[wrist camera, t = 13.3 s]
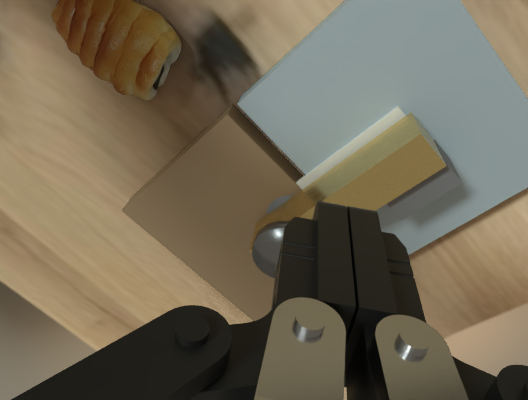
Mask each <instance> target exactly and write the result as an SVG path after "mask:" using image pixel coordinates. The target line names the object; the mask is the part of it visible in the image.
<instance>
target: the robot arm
mask: <svg viewBox="0 0 528 400" xmlns="http://www.w3.org/2000/svg"><path fill="white" fill-rule="evenodd" d="M413 276H414V275H413V271H412V268H411V266H410V260H409V256H408V253H407V249H406V247H405V246H404V245H403V244H402V242H401V241H400V240H399V239H398V238H397V236H396V235H395V234H392V233H386V232H381V227H380V222H379V217H378V213H377V211H373V210H368V209H362V208H356V207H351V206H347V207H346V206H344V205H339V204H333V203H327V202H321V201H317V203H316V206H315V210H314V214H313V219H312V220H311V219H306V218H300V217H294V218H293V219H292V220H291V221H290V222H289V223H288V224H287V225H286V226H285V229H284V234H283V239H282V244H281V249H280V254H279V259H278V264H277V269H276V274H275V282H274V290H273V297H272V305H271V311H270V312H269V313H268V314H267V315H265V316H264V317H262V318H261V319H258V320H256V321H253V322H249V323H243V324H232V325H229V324H228V322H227V321H226V319H225V318H224V317H223V316H222V315H220V314H219V313H218V312H216V311H214V310H212V309H210V308H207V307H203V306H196V305H189V306H182V307H178V308H175V309H172V310H170V311H168V312H166V313H165V314H163V315H161V316H159V317H158V318H156V319H154V320H152V321H150V322H149V323H147V324H145V325H143V326H141V327H140V328H138V329H136V330H134V331H133V332H131V333H129V334H127V335H125V336H124V337H122V338H120V339H118V340H117V341H115V342H113V343H111V344H109V345H108V346H106V347H104V348H102V349H101V350H99V351H97V352H95V353H94V354H92V355H90V356H88V357H86V358H85V359H83V360H81V361H79V362H77V363H76V364H74V365H72V366H70V367H68V368H67V369H65V370H63V371H61V372H60V373H58V374H56V375H54V376H53V377H51V378H49V379H47V380H45V381H43V382H42V383H40V384H38V385H36V386H35V387H33V388H31V389H29V390H27V391H26V392H24V393H22V394H20V395H19V396H17V397H15V398H13V399H12V400H344V387H347V400H528V366H523V365H511V366H507V367H505V368H503V369H502V370H501V371H500V373H499V374H498V376H497V377H495V376H493V375H491V374H489V373H486V372H484V371H482V370H479V369H477V368H475V367H473V366H470V365H468V364H466V363H464V362H462V361H460V360H458V359H456V358H454V357H453V356H452V355H451V353H450V350H449V347H448V346H447V343H446V342H445V340H444V339H443V337H442V336H441V335H440V334H439V333H438V332H437V331H436V330H435V329H434V328H433V327H431V326H430V325H428V324H427V323H426V320H425V317H424V313H423V309H422V305H421V301H420V298H419V294H418V290H417V286H416V283H415V279H414V278H413Z"/></svg>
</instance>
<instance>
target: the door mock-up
mask: <svg viewBox="0 0 528 400" xmlns="http://www.w3.org/2000/svg"><path fill="white" fill-rule="evenodd" d="M237 105H238V106H239V107H240V108H241V109H242V110H243V111H244V112H245V113H246V114H247V115H248V116H249V117H250V118H251V119H252V120H253V121H254V122H255V123H256V124H257V125H258V126H259V127H260V128H261V129H262V130H263V131H264V133H265V134H266V135H267V136H268V137H269V138H270V139H271V140H272V141H273V142H274V143H275V144H276V145H277V146H278V147H279V148H280V149H281V150H282V151H283V152H284V153H285V154H286V155H287V156H288V157H289V158H290V159H291V160H292V161H293V162H294V164H295V165H296V166H297V167H298V168H299V169H300V170H301V171H302V172H303V173H304V174H305V176H303V175H302V174H301V173H300V172H299V171H298V170H297V169H296V168H295V167H294V166H293V165H292V164H291V163H290V162H289V161H288V160H287V159H286V158H285V157H284V156H283V155H282V154H281V153H280V152H279V151H278V150H277V149H276V148H275V147H274V146H273V145H272V144H271V142H270V141H269V140H268V139H267V138H266V137H265V136H264V135H263V134H262V133H261V132H260V131H259V130H258V129H257V128H256V127H255V126H254V125H253V124H252V123H251V122H250V121H249V120H248V119H247V118H246V117H245V116H244V115H243V114H242V113H241V112H240V111H239V110H238V109H237V107H236V106H235V105H234V104H232V105H231V106H230V107H229V108H228V109H227V110H226V111H225V112H223V113H222V114H221V115H220V116H219V117H218V118H217V119H216V120H215V121H214V122H213V123H212V124H210V125H209V126H208V127H207V128H206V129H205V130H204V131H203V132H202V133H201V134H200V135H199V136H197V137H196V138H195V139H194V140H193V141H192V142H191V143H190V144H189V145H188V146H187V147H186V148H184V149H183V150H182V151H181V152H180V153H179V154H178V155H177V156H176V157H175V158H174V159H172V160H171V161H170V162H169V163H168V164H167V165H166V166H165V167H164V168H163V169H162V170H161V171H159V172H158V173H157V174H156V175H155V176H154V177H153V178H152V179H151V180H150V181H149V182H148V183H146V184H145V185H144V186H143V187H142V188H141V189H140V190H139V191H138V192H137V193H136V194H134V195H133V196H132V197H131V199H130V200H129V201H128V203H127V204H126V206H125V207H124V208H123V210H122V211H123V212H124V213H125V214H126V215H127V216H129V217H130V218H131V219H132V220H133V221H135V222H136V223H137V224H138V225H139V226H141V227H142V228H143V229H144V230H145V231H147V232H148V233H149V234H150V235H151V236H153V237H154V238H155V239H156V240H157V241H159V242H160V243H161V244H162V245H163V246H165V247H166V248H167V249H168V250H169V251H171V252H172V253H173V254H174V255H175V256H177V257H178V258H179V259H180V260H181V261H183V262H184V263H185V264H186V265H187V266H189V267H190V268H191V269H192V270H193V271H195V272H196V273H197V274H198V275H199V276H201V277H202V278H203V279H204V280H205V281H207V282H208V283H209V284H210V285H211V286H213V287H214V288H215V289H216V290H217V291H219V292H220V293H221V294H222V295H223V296H225V297H226V298H227V299H228V300H229V301H231V302H232V303H233V304H234V305H235V306H236V307H238V308H239V309H240V310H241V311H242V312H244V313H245V314H246V315H247V316H248V317H250V318H251V319H252V320H253V321H256V320H258V319H261V318H262V317H264V316H265V315H267V314H268V313H269V312H270V311H271V305H272V297H273V290H274V282H275V278H272V277H270V276H268V275H266V274H264V273H263V272H262V271H261V270H260V269H259V268H258V267H257V266H256V264H255V262H254V260H253V257H252V253H251V252H250V247H251V242H252V238H253V234H254V230H255V226H256V222H258V221H259V220H260V219H262V218H263V217H265V216H266V215H267V214H269V213H270V212H272V211H273V210H274V209H276V208H277V207H279V206H280V205H281V204H283V203H284V202H286V201H287V200H288V199H290V198H291V197H293V196H294V195H295V194H297V193H298V192H300V191H301V190H302V189H304V188H305V187H307V186H308V185H309V184H311V183H312V182H314V181H315V180H316V179H318V178H319V177H321V176H322V175H323V174H325V173H326V172H328V171H329V170H330V169H332V168H333V167H335V166H336V165H337V164H339V163H340V162H342V161H343V160H344V159H346V158H347V157H349V156H350V155H351V154H353V153H354V152H356V151H357V150H359V149H360V148H361V147H363V146H364V145H366V144H367V143H368V142H370V141H371V140H373V139H374V138H375V137H377V136H378V135H380V134H381V133H382V132H384V131H385V130H387V129H388V128H389V127H391V126H392V125H394V124H395V123H396V122H398V121H399V120H401V119H402V118H403V117H405V116H406V115H408V114H409V113H410V112H412V114H413V115H414V116H415V117H416V119H417V120H418V121H419V122H420V124H421V125H422V126H423V128H424V129H425V130H426V131H427V133H428V134H429V135H430V136H431V138H432V139H433V140H434V142H435V144H436V146H437V148H438V150H439V152H440V154H441V156H442V158H443V160H444V162H445V164H446V167H444V168H443V169H441V170H439V171H438V172H436V173H435V174H433V175H431V176H430V177H428V178H427V179H425V180H424V181H422V182H420V183H419V184H417V185H416V186H414V187H412V188H411V189H409V190H408V191H406V192H404V193H403V194H401V195H400V196H398V197H396V198H395V199H393V200H392V201H390V202H389V203H387V204H385V205H384V206H382V207H381V208H379V209H377V210H376V211H377V213H378V217H379V222H380V227H381V232H386V233H392V234H395V235H396V236H397V238H398V239H399V240H400V241H401V242H402V244H403V245H404V246H405V247H406V249H407V253H408V255H410V254H412V253H413V252H415V251H417V250H419V249H420V248H422V247H424V246H426V245H427V244H429V243H431V242H433V241H434V240H436V239H438V238H440V237H441V236H443V235H445V234H447V233H448V232H450V231H452V230H454V229H456V228H457V227H459V226H461V225H463V224H464V223H466V222H468V221H470V220H471V219H473V218H475V217H477V216H478V215H480V214H482V213H484V212H485V211H487V210H489V209H491V208H492V207H494V206H496V205H498V204H499V203H501V202H503V201H505V200H507V199H508V198H510V197H512V196H514V195H515V194H517V193H519V192H521V191H522V190H524V189H526V188H528V98H527V97H526V95H525V94H524V93H523V91H522V90H521V88H520V87H519V85H518V84H517V82H516V81H515V80H514V78H513V77H512V75H511V74H510V72H509V71H508V69H507V68H506V66H505V65H504V64H503V62H502V61H501V59H500V58H499V56H498V55H497V53H496V52H495V50H494V49H493V48H492V46H491V45H490V43H489V42H488V40H487V39H486V37H485V36H484V34H483V33H482V32H481V30H480V29H479V27H478V26H477V24H476V23H475V21H474V20H473V18H472V17H471V16H470V14H469V13H468V11H467V10H466V8H465V7H464V5H463V4H462V2H461V1H460V0H345V1H344V2H343V3H342V4H341V5H340V6H339V7H337V8H336V9H335V10H334V11H333V12H332V13H331V14H330V15H329V16H328V17H327V18H326V19H324V20H323V21H322V22H321V23H320V24H319V25H318V26H317V27H316V28H315V29H314V30H312V31H311V32H310V33H309V34H308V35H307V36H306V37H305V38H304V39H303V40H302V41H301V42H299V43H298V44H297V45H296V46H295V47H294V48H293V49H292V50H291V51H290V52H289V53H288V54H286V55H285V56H284V57H283V58H282V59H281V60H280V61H279V62H278V63H277V64H276V65H275V66H273V67H272V68H271V69H270V70H269V71H268V72H267V73H266V74H265V75H264V76H263V77H261V78H260V79H259V80H258V81H257V82H256V83H255V84H254V85H253V86H252V87H251V88H250V89H248V90H247V91H246V92H245V93H244V94H243V95H242V96H241V98H240V100H239V102H238V104H237Z"/></svg>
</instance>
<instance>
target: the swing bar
mask: <svg viewBox="0 0 528 400" xmlns="http://www.w3.org/2000/svg"><path fill="white" fill-rule="evenodd" d="M444 167H446V164H445V162H444V160H443V158H442V156H441V154H440V152H439V150H438V148H437V146H436V144H435V142H434V140H433V139H432V138H431V136H430V135H429V134H428V133H427V131H426V130H425V129H424V128H423V126H422V125H421V124H420V122H419V121H418V120H417V119H416V117H415V116H414V115H413V114H412V112H410V113H409V114H408V115H406V116H405V117H403V118H402V119H401V120H399V121H398V122H396V123H395V124H394V125H392V126H391V127H389V128H388V129H387V130H385V131H384V132H382V133H381V134H380V135H378V136H377V137H375V138H374V139H373V140H371V141H370V142H368V143H367V144H366V145H364V146H363V147H361V148H360V149H359V150H357V151H356V152H354V153H353V154H351V155H350V156H349V157H347V158H346V159H344V160H343V161H342V162H340V163H339V164H337V165H336V166H335V167H333V168H332V169H330V170H329V171H328V172H326V173H325V174H323V175H322V176H321V177H319V178H318V179H316V180H315V181H314V182H312V183H311V184H309V185H308V186H307V187H305V188H304V189H302V190H301V191H300V192H298V193H297V194H295V195H294V196H293V197H291V198H290V199H288V200H287V201H286V202H284V203H283V204H281V205H280V206H279V207H277V208H276V209H274V210H273V211H272V212H270V213H269V214H267V215H266V216H265V217H263V218H262V219H260V220H259V221H258V222H256V226H255V230H254V234H253V238H252V242H251V247H250V252H251V253H252V257H253V260H254V262H255V264H256V266H257V267H258V268H259V269H260V270H261V271H262V272H263V273H264V274H266V275H268V276H270V277H272V278H275V274H276V269H277V264H278V259H279V254H280V249H281V244H282V239H283V234H284V229H285V226H286V225H287V224H288V223H289V222H290V221H291V220H292V219H293V218H294V217H300V218H306V219H311V220H312V219H313V214H314V210H315V206H316V203H317V201H321V202H327V203H333V204H339V205H344V206H346V207H347V206H351V207H356V208H362V209H368V210H373V211H376V210H377V209H379V208H381V207H382V206H384V205H385V204H387V203H389V202H390V201H392V200H393V199H395V198H396V197H398V196H400V195H401V194H403V193H404V192H406V191H408V190H409V189H411V188H412V187H414V186H416V185H417V184H419V183H420V182H422V181H424V180H425V179H427V178H428V177H430V176H431V175H433V174H435V173H436V172H438V171H439V170H441V169H443V168H444Z"/></svg>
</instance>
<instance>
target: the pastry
mask: <svg viewBox="0 0 528 400" xmlns="http://www.w3.org/2000/svg"><path fill="white" fill-rule="evenodd" d="M52 18H53V21H54V22H55V24H56V29H57V31H58V32H59V34H60V35H61V36H62V38H63V39H64V40H65V42H66V43H67V47H68V49H69V50H70V51H71V52H73V53H75V54H76V55H78V56H79V58H80V60H81V62H82V64H83V65H84V66H86V67H88V68H90V69H92V70H93V72H94V74H95V76H97V77H98V78H100V79H102V80H105V81H109V82H110V83H112V84H113V85H114V88H115V89H116V91H117V92H119V93H121V94H124V95H133V96H137V97H139V98H141V99H142V100H144V101H150V100H152V99H153V98H154V97H155V96H156V94H157V90H158V87H160V86H162V85H163V83H164V82H165V80H166V78H167V74H168V72H169V69H170V65H171V64H172V63H173V62H175V61H176V60H177V58H178V56H179V54H180V52H181V40H180V38H179V36H178V35H177V33H176V32H175V30H174V29H173V28H172V27H171V26H170V24H169V23H168V22H167V21H166V20H165V19H164V17H163V16H162V15H160V14H159V13H158V12H156V11H154V10H152V9H151V8H149V7H146V6H143V5H141V4H139V3H137V2H135V1H133V0H59V1H58V3H57V6H56V7H55V8H54V9H53V11H52Z"/></svg>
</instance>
